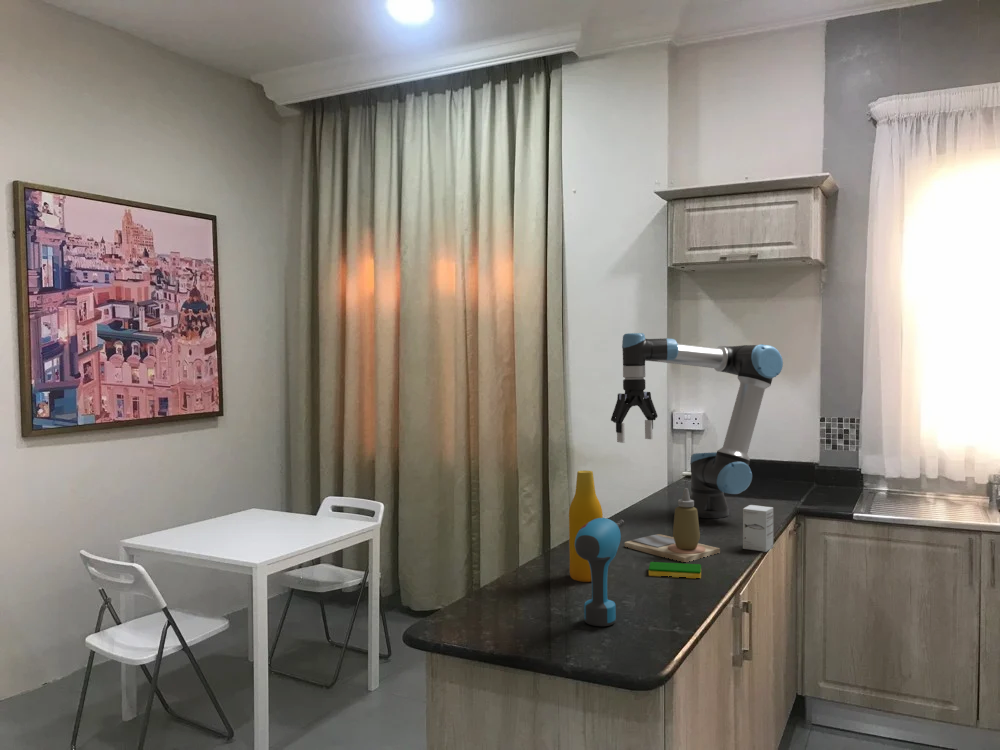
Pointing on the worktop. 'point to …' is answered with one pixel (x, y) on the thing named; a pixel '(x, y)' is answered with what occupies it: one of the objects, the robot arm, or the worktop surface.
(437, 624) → the worktop surface
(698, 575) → the dish sponge
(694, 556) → the board
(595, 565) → the power drill
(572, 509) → the beer bottle
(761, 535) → the supplement box
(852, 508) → the worktop surface
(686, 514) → the squeeze bottle
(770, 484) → the worktop surface
